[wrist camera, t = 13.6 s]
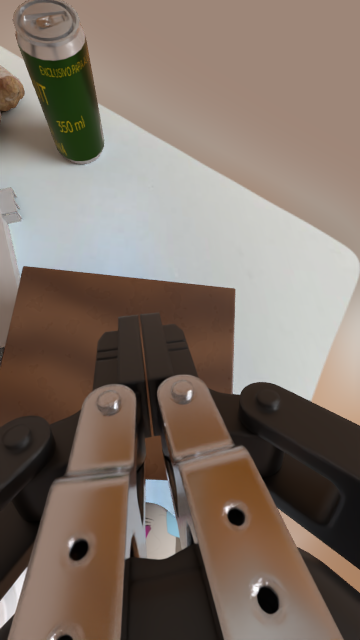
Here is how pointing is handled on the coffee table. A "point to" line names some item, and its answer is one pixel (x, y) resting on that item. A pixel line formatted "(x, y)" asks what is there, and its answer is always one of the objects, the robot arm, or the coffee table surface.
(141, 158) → the coffee table surface
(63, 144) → the beer can
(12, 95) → the fossil
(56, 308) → the lid
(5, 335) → the white stadium model
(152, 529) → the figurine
